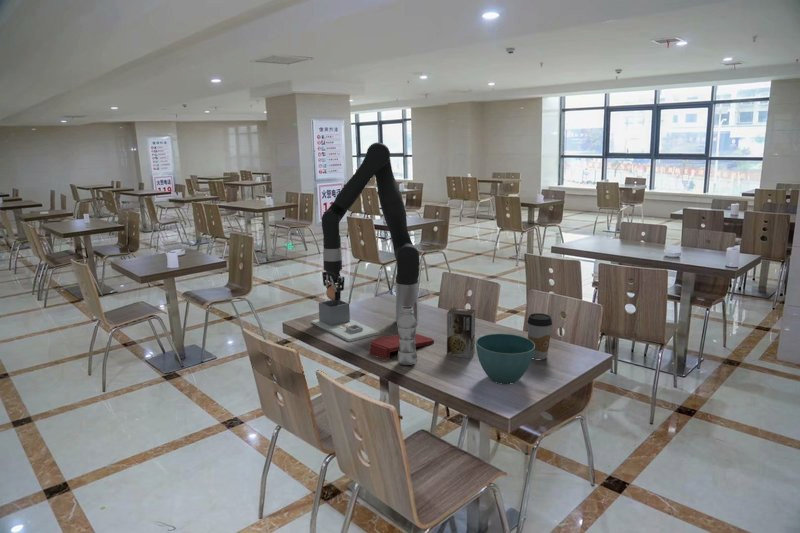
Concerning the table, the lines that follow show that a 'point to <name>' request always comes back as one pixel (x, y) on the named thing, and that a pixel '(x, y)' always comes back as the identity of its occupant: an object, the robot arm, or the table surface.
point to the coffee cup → (539, 333)
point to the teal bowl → (505, 356)
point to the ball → (331, 293)
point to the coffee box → (461, 332)
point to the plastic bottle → (407, 337)
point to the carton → (394, 345)
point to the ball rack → (341, 321)
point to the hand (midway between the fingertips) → (333, 298)
